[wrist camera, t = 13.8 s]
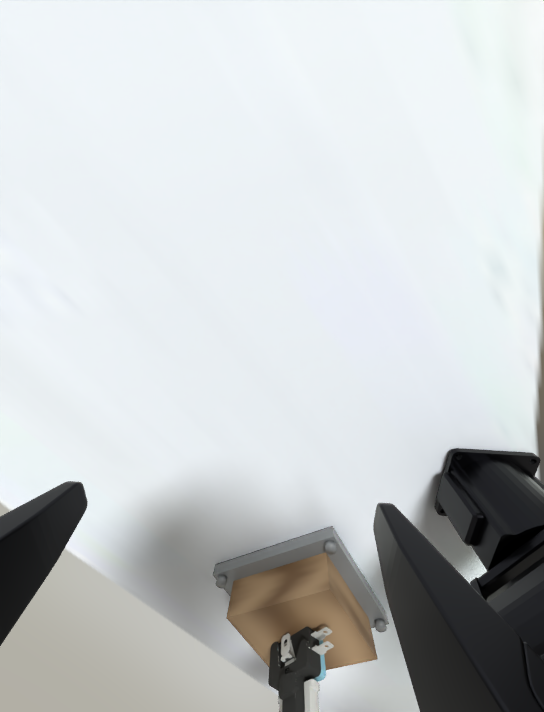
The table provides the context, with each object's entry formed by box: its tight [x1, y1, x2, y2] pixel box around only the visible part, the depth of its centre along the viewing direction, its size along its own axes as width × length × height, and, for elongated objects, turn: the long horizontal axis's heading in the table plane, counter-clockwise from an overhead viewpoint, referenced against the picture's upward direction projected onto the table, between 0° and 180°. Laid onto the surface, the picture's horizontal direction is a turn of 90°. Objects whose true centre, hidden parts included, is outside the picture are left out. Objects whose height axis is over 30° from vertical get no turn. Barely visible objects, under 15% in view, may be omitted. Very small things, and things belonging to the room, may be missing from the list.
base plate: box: [213, 526, 389, 632], centre depth 28 cm, size 13×13×2 cm
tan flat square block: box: [227, 552, 377, 670], centre depth 26 cm, size 10×10×3 cm
